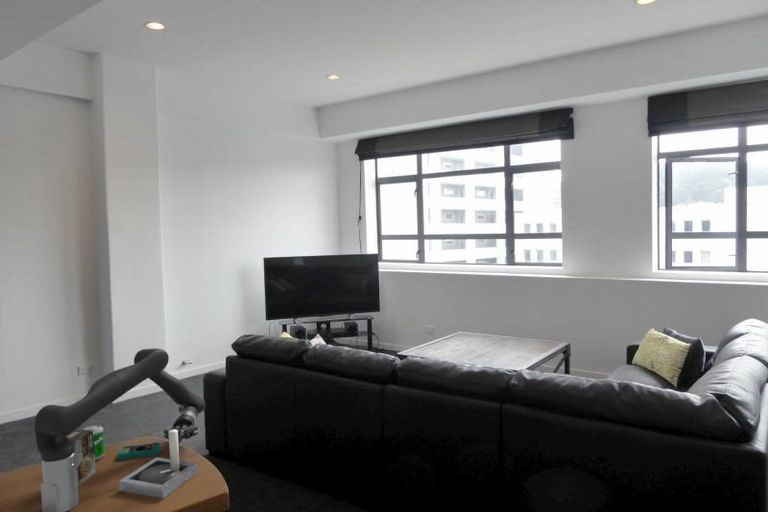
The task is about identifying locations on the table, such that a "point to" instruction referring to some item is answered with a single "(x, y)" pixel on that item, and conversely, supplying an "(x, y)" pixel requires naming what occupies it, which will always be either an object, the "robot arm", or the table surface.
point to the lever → (164, 471)
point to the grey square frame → (157, 490)
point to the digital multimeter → (139, 451)
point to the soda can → (97, 440)
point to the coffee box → (83, 454)
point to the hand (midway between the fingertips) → (176, 441)
